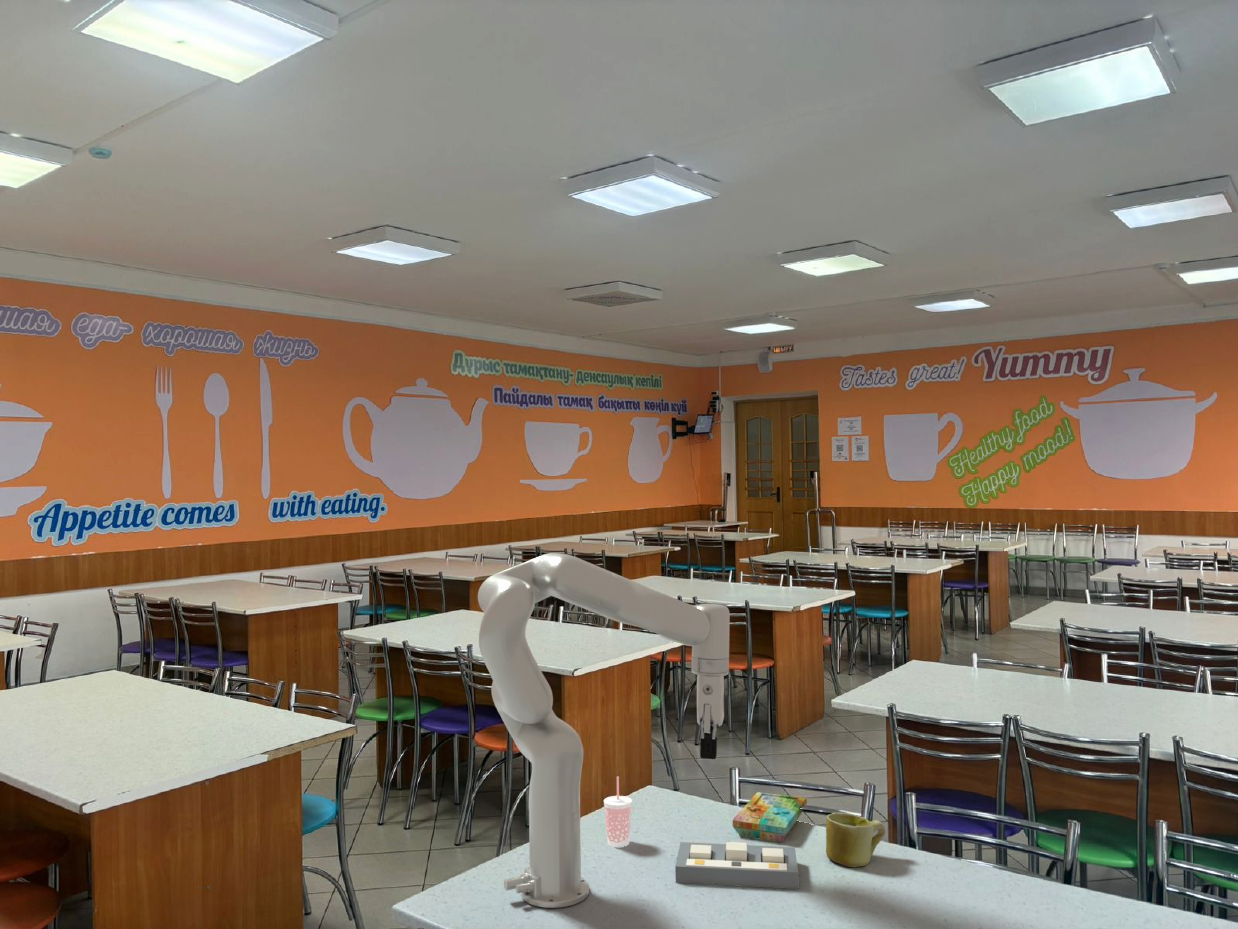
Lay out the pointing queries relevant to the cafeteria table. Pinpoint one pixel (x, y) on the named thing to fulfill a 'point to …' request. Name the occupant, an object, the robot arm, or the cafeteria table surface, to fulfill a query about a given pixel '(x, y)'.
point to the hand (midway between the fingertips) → (708, 757)
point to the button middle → (736, 851)
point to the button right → (772, 855)
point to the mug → (851, 838)
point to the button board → (737, 868)
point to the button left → (701, 852)
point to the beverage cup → (618, 819)
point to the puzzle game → (768, 816)
